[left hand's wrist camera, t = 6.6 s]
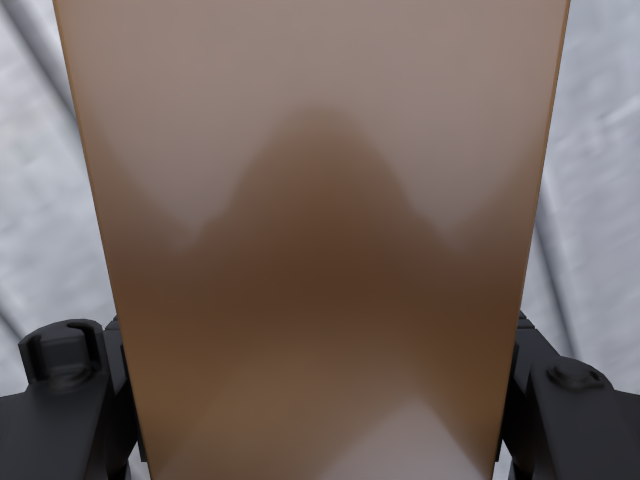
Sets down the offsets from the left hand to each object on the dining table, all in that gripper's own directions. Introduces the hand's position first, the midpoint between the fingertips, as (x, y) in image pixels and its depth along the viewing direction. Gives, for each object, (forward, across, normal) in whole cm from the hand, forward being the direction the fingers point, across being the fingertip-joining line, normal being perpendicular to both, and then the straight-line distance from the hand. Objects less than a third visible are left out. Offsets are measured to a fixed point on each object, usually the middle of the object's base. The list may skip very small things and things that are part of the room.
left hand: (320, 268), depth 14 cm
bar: (0, 0, -33) cm, 33 cm away
